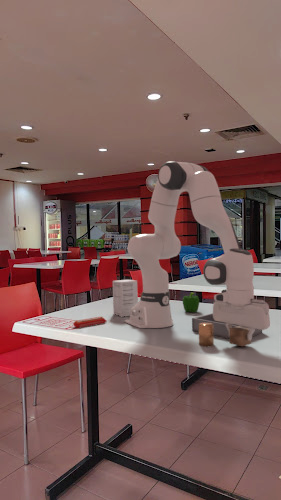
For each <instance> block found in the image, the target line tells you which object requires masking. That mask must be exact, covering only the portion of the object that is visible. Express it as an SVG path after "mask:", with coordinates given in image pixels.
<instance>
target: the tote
mask: <svg viewBox="0 0 281 500" xmlns="http://www.w3.org/2000/svg"><path fill="white" fill-rule="evenodd" d="M199 323H212V324H213V333H214V336H215V337H220V338H223V339H229V340H230V336H229V331H228V329H227V327H226V323H224V322H219V321H215V320H214V318H213V312H212V313H209V314H205V315H200V316H195V317H191V331H193V332H197V333H199ZM237 326H240V325H235V324H233V325H232V328H233V327H237ZM240 327H245V326H240ZM245 328H248V327H245ZM262 333H263V330H260V329H255V331H254V333H253V334H252V337H254V336H257V335H260V334H262Z"/></svg>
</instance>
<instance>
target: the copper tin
mask: <svg viewBox="0 0 281 500" xmlns="http://www.w3.org/2000/svg"><path fill="white" fill-rule="evenodd" d="M214 340H215V339H214V333H213V324H212V323H199V332H198V345H199V346H200V347H205V346H206V347H207V348H208V346H209V347H214V342H215V341H214Z"/></svg>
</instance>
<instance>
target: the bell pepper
mask: <svg viewBox="0 0 281 500" xmlns="http://www.w3.org/2000/svg"><path fill="white" fill-rule="evenodd" d="M182 304H183V305H182V306H183V310H184V311H185V312H186V313H197V311H198V310H199V305H200V298H199V296H198V295H195V293H194V292H192V291H191V292H190V294H189V295H183V298H182Z"/></svg>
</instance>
